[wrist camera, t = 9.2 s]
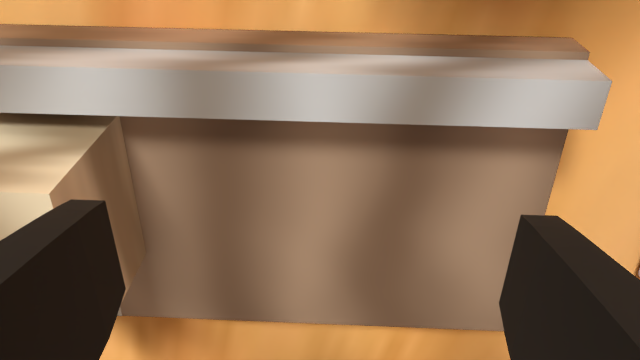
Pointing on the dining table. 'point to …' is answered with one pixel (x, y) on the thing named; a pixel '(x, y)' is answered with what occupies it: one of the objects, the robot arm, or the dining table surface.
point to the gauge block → (69, 175)
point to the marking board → (319, 161)
